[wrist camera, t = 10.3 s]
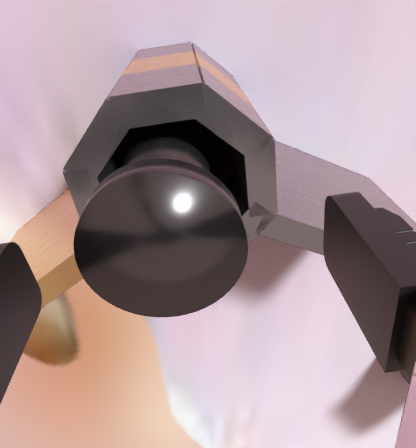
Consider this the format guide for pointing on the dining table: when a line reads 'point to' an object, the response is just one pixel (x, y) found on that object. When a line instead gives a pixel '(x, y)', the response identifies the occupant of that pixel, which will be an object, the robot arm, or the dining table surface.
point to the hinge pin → (162, 227)
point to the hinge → (216, 152)
